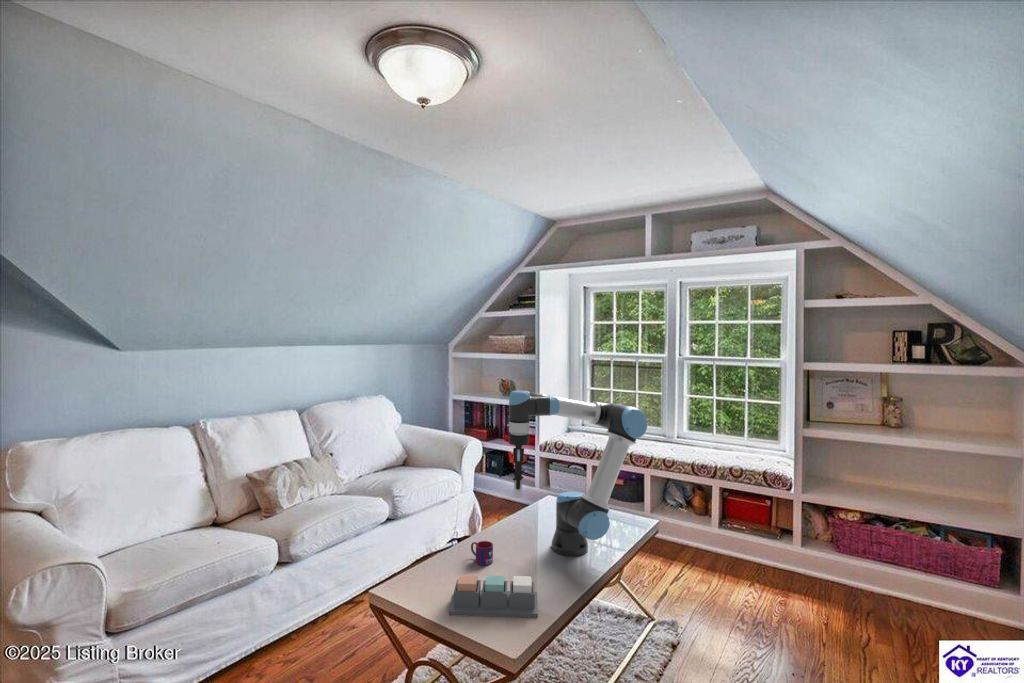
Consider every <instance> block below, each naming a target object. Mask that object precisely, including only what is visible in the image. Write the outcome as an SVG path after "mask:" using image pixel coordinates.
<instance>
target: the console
mask: <svg viewBox="0 0 1024 683" xmlns="http://www.w3.org/2000/svg"><path fill="white" fill-rule="evenodd" d="M458 580H459V579H457V580H456V583H455V586H454V589H453V596H452V599H451V604H450V608H449V612H448V613H449V614H448V615H449V616H466V617H468V616H469V617H471V616H472V617H497V618H498V617H500V618H501V617H502V618H503V617H507V618H535V619H538V618H539V610H538V595H537V594H538V592H537V591H536V590H535V581H532V593H513V580H510V582H509V583H510V584H509V590H508V580H504V592H485V583H486V579H484V580H483V581H482V580H480V579H478V585H477V592H468V591H457V583H458ZM481 586H482V589H481Z"/></svg>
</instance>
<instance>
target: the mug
mask: <svg viewBox="0 0 1024 683" xmlns="http://www.w3.org/2000/svg"><path fill="white" fill-rule="evenodd" d="M474 545H475V550H474ZM470 550H471V552H472V555H474V557H475V564H476V565H477V566H481V567H484V566H486V567H487V566H490V565H492V564H493V562H494V558H493V557H494V543H493V542H491V541H488V540H481V541H478V542H477V541H476V542H475V541H474V542H473V541H472V543H471V544H470Z"/></svg>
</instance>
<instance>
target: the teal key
mask: <svg viewBox="0 0 1024 683" xmlns="http://www.w3.org/2000/svg"><path fill="white" fill-rule="evenodd" d="M485 580H486V583H485V592H504V581H505V575H497V574H495V575H493V574H492V575H491V574H490V575H489V574H487V575H486V577H485Z"/></svg>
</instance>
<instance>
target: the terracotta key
mask: <svg viewBox="0 0 1024 683" xmlns="http://www.w3.org/2000/svg"><path fill="white" fill-rule="evenodd" d="M478 578H479V576H478V574H459V577H458V579H457V580H458V583H457V591H468V592H477V585H478V580H479V579H478Z"/></svg>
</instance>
